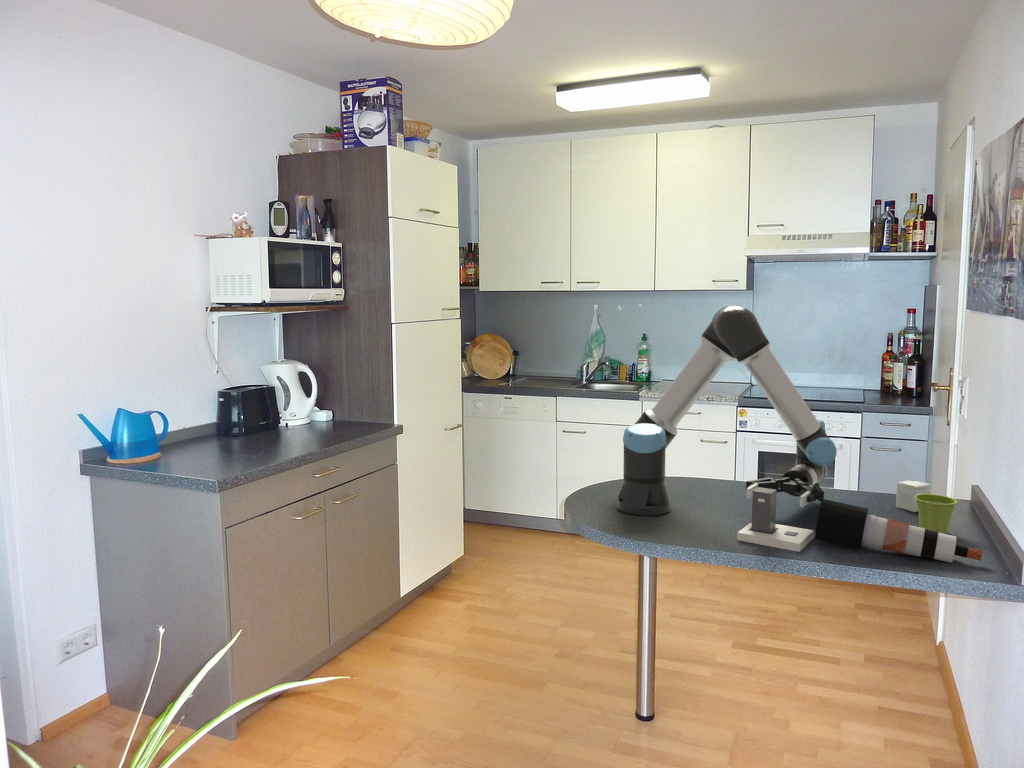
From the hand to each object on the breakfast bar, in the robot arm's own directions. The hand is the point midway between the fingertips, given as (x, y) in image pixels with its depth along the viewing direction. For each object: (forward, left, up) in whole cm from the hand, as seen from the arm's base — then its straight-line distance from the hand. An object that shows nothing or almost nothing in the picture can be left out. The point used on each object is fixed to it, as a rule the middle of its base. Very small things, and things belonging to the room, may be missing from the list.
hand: (774, 497), depth 195 cm
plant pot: (+34, +21, -9) cm, 41 cm away
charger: (0, -7, -9) cm, 11 cm away
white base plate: (+3, -7, -9) cm, 11 cm away
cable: (+29, -1, -9) cm, 30 cm away
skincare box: (+26, +41, -9) cm, 49 cm away
